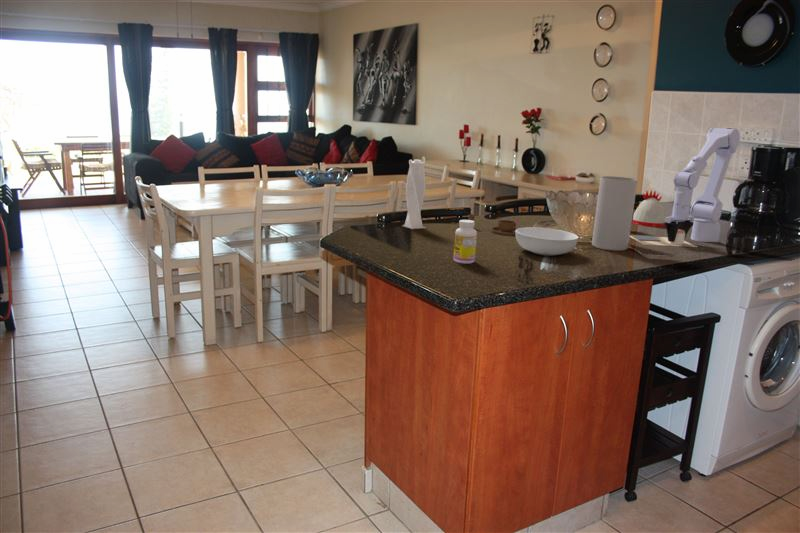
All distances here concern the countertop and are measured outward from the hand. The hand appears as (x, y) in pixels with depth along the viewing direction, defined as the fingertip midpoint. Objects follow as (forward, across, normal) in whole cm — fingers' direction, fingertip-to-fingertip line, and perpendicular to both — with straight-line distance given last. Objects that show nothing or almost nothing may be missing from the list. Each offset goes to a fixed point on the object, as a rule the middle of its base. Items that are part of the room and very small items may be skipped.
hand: (676, 240), depth 238 cm
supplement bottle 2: (+3, +1, +25) cm, 25 cm away
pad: (+1, -5, +10) cm, 11 cm away
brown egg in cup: (+1, 0, 0) cm, 1 cm away
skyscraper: (+3, -76, +62) cm, 98 cm away
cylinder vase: (+3, -26, +8) cm, 28 cm away
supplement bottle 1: (+3, -91, +10) cm, 92 cm away
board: (+2, -2, +5) cm, 6 cm away
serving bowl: (+3, -56, +10) cm, 57 cm away
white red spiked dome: (+3, +33, +37) cm, 50 cm away
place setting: (+3, -47, +46) cm, 66 cm away
